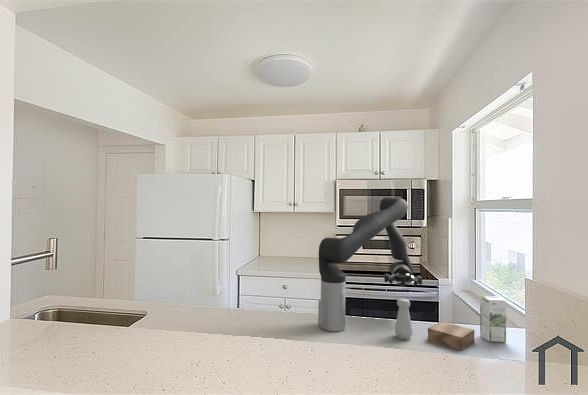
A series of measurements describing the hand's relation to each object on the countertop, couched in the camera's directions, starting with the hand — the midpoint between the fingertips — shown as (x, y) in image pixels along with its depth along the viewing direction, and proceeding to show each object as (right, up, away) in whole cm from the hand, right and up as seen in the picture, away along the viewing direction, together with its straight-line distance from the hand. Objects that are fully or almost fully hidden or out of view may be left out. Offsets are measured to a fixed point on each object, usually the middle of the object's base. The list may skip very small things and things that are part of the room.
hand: (403, 282), depth 122 cm
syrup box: (+27, -17, -12) cm, 34 cm away
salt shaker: (-4, -16, -12) cm, 20 cm away
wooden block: (+12, -16, -14) cm, 24 cm away
